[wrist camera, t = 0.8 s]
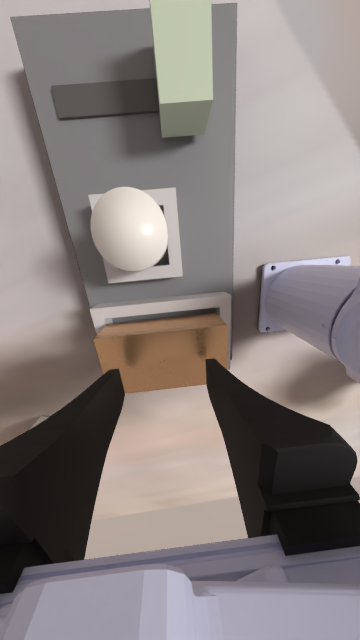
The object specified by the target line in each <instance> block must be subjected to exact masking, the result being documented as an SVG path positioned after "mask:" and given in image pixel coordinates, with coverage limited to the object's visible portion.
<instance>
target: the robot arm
mask: <svg viewBox="0 0 360 640" xmlns="http://www.w3.org/2000/svg"><path fill="white" fill-rule="evenodd" d="M336 260H337V262H336V263H335V261H336ZM350 262H351V258H350V257H349V256H340V257H330V258H319V259H309V260H299V261H288V262H278V263H267V264H265V265H264V266H263V268H262V282H261V296H260V310H259V324H258V330H259V331H260V332H261V333H266V332H276V331H285V330H287V331H289V332H291V333H292V334H294V335H296V336H297V337H299V338H301V339H302V340H304V341H306V342H307V343H309V344H311V345H312V346H314V347H316V348H317V349H319V350H321V351H322V352H324V353H326V354H327V355H329V356H331V357H332V358H334V359H336V360H338V361H339V362H341V363H343V365H344V366H345V368H346V375H347V376H349V377H351V378H352V379H354V380H355V381H357V382H358V383H360V266H350ZM272 266H273V267H274V268H273V270H271V267H272ZM266 327H268V329H266ZM205 362H206V384H207V389H208V393H209V397H210V400H211V403H212V406H213V409H214V412H215V415H216V417H217V420H218V423H219V426H220V428H221V431H222V434H223V437H224V441H225V445H226V448H227V452H228V456H229V460H230V464H231V468H232V472H233V476H234V480H235V484H236V488H237V492H238V496H239V500H240V504H241V509H242V513H243V517H244V521H245V526H246V530H247V534H248V538H247V539H239V540H231V541H223V542H216V543H208V544H201V545H194V546H186V547H178V548H170V549H162V550H155V551H148V552H140V553H132V554H124V555H117V556H110V557H102V558H94V559H87V560H84V557H85V551H86V546H87V540H88V535H89V530H90V524H91V520H92V515H93V510H94V505H95V501H96V496H97V492H98V487H99V483H100V478H101V474H102V470H103V466H104V462H105V458H106V454H107V451H108V448H109V444H110V442H111V439H112V436H113V433H114V430H115V427H116V424H117V421H118V419H119V416H120V413H121V410H122V406H123V401H124V396H125V391H124V387H123V383H122V379H121V375H120V371H119V369H110V370H108V371H107V372H106V373H105V374H104V375H102V376H101V377H100V378H99V379H98V380H97V381H95V382H94V383H93V384H92V385H91V386H90V387H89V388H87V389H86V390H85V391H84V392H83V393H81V394H80V395H79V396H78V397H76V398H75V399H74V400H73V401H71V402H70V403H69V404H67V405H66V406H65V407H63V408H62V409H61V410H59V411H58V412H56V413H55V414H53V415H52V416H50V417H49V418H47V419H46V420H44V421H43V422H41V423H39V424H38V425H36V426H35V427H33V428H31V429H30V430H28V431H26V432H25V433H23V434H21V435H19V436H18V437H16V438H14V439H12V440H11V441H9V442H7V443H5V444H3V445H1V446H0V640H360V503H359V502H358V501H357V500H359V499H360V497H359V494H358V493H357V492H356V491H355V489H354V488H353V487H352V486H351V484H350V481H351V479H352V476H353V474H354V471H355V469H356V465H357V455H356V452H355V451H354V450H353V449H352V447H351V446H350V445H349V444H348V443H347V442H346V441H345V440H344V439H343V438H342V437H341V436H340V435H339V434H338V433H337V432H336V431H335V430H334V429H333V428H332V427H331V426H330V425H328V424H325V423H323V422H320V421H317V420H315V419H312V418H309V417H307V416H304V415H302V414H299V413H297V412H295V411H292V410H290V409H288V408H286V407H284V406H282V405H279V404H277V403H276V402H274V401H272V400H270V399H268V398H266V397H264V396H263V395H261V394H259V393H258V392H256V391H254V390H253V389H251V388H250V387H248V386H247V385H245V384H244V383H243V382H241V381H240V380H239V379H237V378H236V377H235V376H234V375H232V374H231V373H230V372H229V371H228V370H227V369H226V368H224V367H223V366H222V365H221V364H220V363H219V362H218V361H217V360H216V359H215V358H212V359H205Z"/></svg>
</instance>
